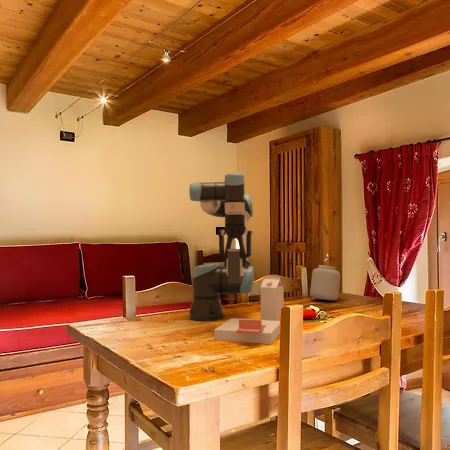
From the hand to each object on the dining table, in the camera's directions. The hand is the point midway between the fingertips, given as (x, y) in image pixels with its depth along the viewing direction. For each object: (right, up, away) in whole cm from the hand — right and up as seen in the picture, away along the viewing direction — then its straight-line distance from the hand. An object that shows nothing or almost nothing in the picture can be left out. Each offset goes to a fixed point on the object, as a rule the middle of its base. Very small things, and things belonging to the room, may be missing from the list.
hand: (235, 275), depth 162 cm
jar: (+50, -21, +67) cm, 86 cm away
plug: (0, -3, 0) cm, 3 cm away
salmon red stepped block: (+5, -16, -19) cm, 26 cm away
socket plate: (+5, -20, -8) cm, 23 cm away
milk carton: (+15, -21, +11) cm, 28 cm away
